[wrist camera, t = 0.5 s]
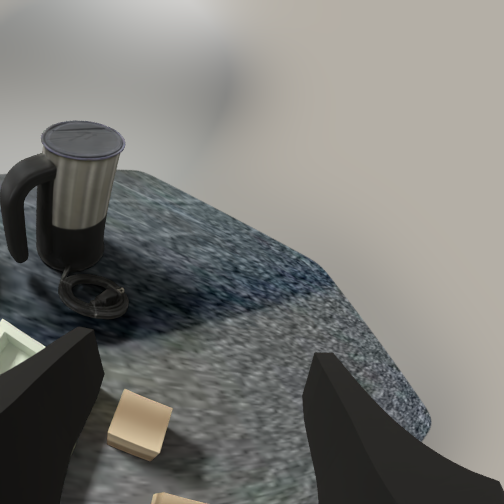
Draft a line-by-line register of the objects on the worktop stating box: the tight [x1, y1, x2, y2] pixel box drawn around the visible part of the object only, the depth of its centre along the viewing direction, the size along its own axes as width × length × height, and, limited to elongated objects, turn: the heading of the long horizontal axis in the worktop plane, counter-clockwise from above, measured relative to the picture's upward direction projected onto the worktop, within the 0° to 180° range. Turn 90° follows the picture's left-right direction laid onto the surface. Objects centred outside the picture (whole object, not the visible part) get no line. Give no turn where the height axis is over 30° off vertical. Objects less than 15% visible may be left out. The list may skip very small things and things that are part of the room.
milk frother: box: [0, 121, 129, 319], centre depth 28 cm, size 14×16×15 cm
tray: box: [0, 319, 78, 458], centre depth 16 cm, size 14×11×2 cm
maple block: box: [107, 389, 173, 461], centre depth 21 cm, size 4×4×5 cm
